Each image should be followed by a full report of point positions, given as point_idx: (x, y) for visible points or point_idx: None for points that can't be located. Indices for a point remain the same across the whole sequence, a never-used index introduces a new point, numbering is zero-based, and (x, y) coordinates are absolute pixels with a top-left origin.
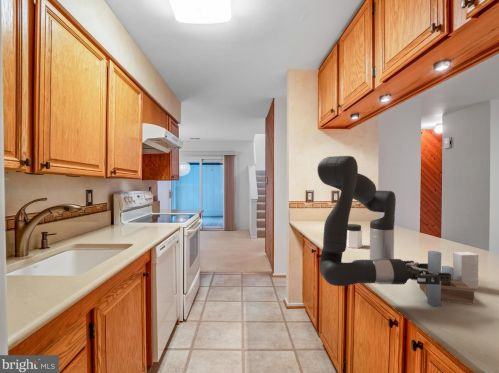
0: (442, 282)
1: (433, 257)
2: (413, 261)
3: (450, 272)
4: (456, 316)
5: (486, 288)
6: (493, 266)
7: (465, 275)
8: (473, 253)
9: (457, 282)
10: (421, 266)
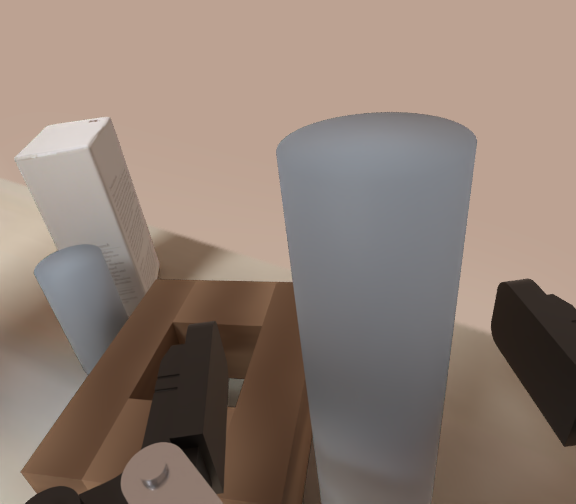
0: (157, 364)
1: (461, 221)
2: (65, 499)
3: (106, 277)
4: (550, 491)
5: (161, 246)
6: (3, 180)
7: (133, 244)
8: (83, 120)
9: (194, 300)
10: (212, 447)
